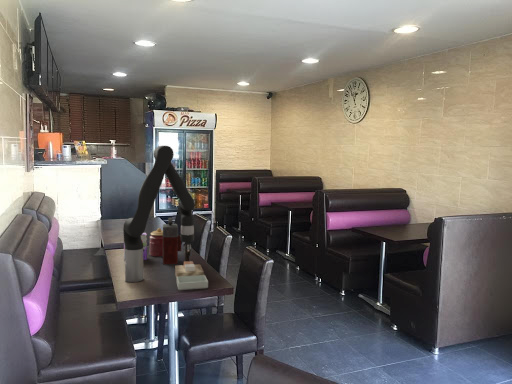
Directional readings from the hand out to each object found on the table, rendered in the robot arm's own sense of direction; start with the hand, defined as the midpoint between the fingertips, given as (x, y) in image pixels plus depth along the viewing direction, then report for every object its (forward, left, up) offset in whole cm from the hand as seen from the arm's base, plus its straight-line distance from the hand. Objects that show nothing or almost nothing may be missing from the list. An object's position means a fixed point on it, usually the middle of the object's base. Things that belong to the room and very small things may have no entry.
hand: (187, 262), depth 232 cm
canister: (-14, +42, -6) cm, 44 cm away
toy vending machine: (-7, +22, -6) cm, 23 cm away
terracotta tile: (0, -7, 0) cm, 7 cm away
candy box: (-29, +32, -6) cm, 43 cm away
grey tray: (0, -24, -6) cm, 25 cm away
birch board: (0, -10, -6) cm, 12 cm away
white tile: (0, -13, 0) cm, 13 cm away
